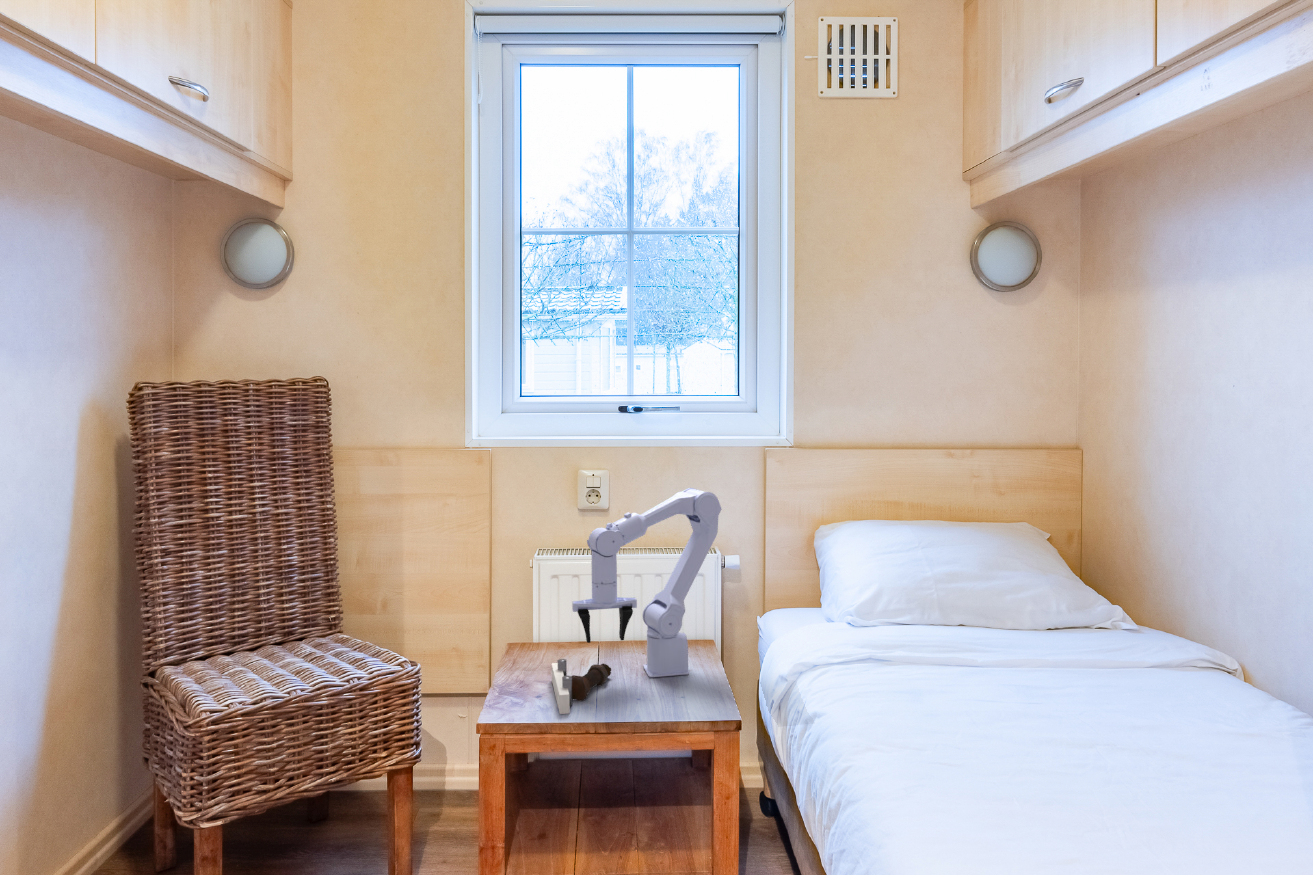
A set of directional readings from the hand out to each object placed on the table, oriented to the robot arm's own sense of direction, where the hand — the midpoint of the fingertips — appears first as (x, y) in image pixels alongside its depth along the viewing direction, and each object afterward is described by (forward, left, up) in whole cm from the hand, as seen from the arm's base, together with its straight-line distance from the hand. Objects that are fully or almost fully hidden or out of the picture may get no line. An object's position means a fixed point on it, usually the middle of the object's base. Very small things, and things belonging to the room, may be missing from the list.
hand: (605, 640), depth 187 cm
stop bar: (+11, +7, -9) cm, 16 cm away
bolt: (+4, +4, -10) cm, 11 cm away
